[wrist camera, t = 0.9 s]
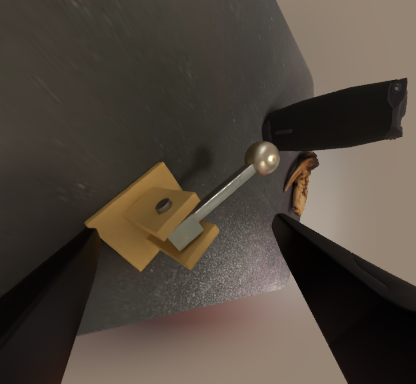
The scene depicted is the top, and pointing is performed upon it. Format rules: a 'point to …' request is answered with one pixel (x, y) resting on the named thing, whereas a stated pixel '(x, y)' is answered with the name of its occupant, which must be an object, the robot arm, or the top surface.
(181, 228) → the tap lever
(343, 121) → the portable speaker
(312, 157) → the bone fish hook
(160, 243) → the tap bracket
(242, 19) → the top surface
